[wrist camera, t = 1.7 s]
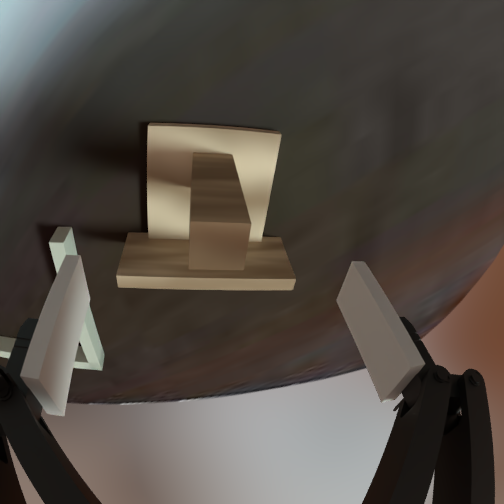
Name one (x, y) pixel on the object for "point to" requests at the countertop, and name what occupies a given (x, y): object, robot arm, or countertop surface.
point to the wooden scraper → (207, 212)
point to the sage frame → (90, 348)
